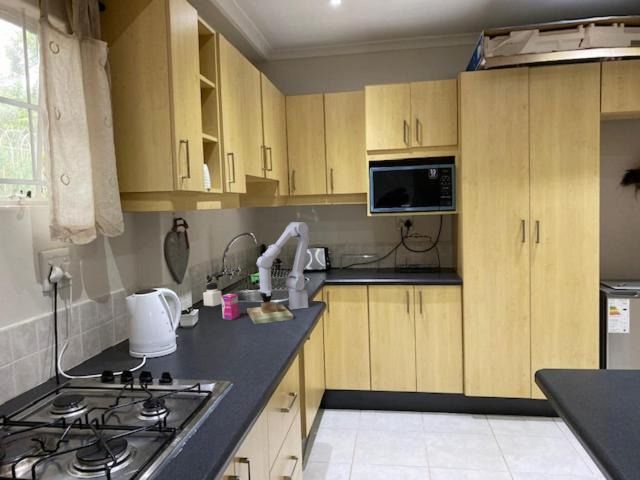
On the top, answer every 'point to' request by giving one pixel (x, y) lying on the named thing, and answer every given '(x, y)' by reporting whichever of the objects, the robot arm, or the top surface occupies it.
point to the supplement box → (230, 306)
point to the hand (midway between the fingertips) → (267, 307)
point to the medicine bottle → (212, 295)
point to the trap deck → (269, 315)
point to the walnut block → (268, 307)
